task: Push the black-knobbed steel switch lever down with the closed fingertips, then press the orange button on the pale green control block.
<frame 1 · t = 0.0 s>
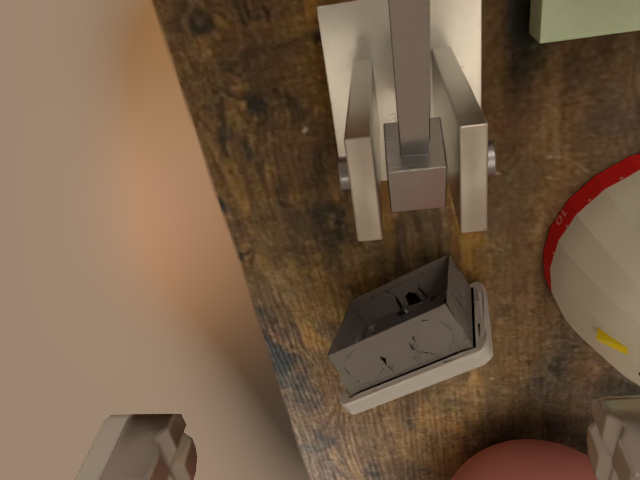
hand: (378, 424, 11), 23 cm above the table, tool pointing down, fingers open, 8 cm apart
electrical switch: (403, 287, 38), on the table
switch bracket: (403, 88, 30), on the table
balloon: (489, 456, 47), on the table
switch lever: (411, 70, 17), point 12 cm above the table, hinge at 28.0°
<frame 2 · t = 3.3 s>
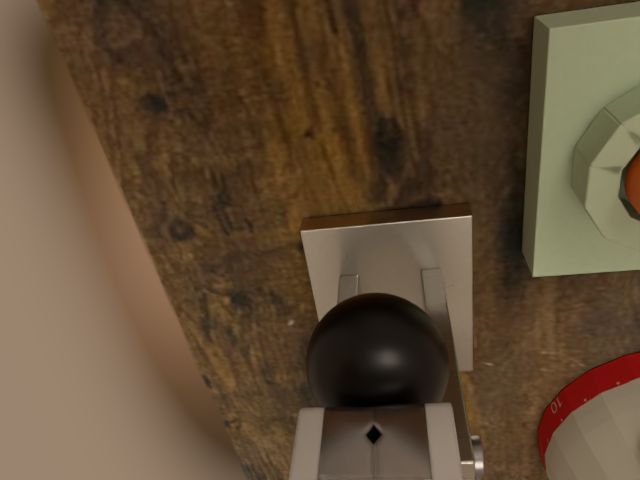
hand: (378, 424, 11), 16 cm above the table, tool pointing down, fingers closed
switch bracket: (392, 291, 29), on the table
switch lever: (391, 421, 16), point 12 cm above the table, hinge at 23.8°
control block: (636, 136, 23), on the table
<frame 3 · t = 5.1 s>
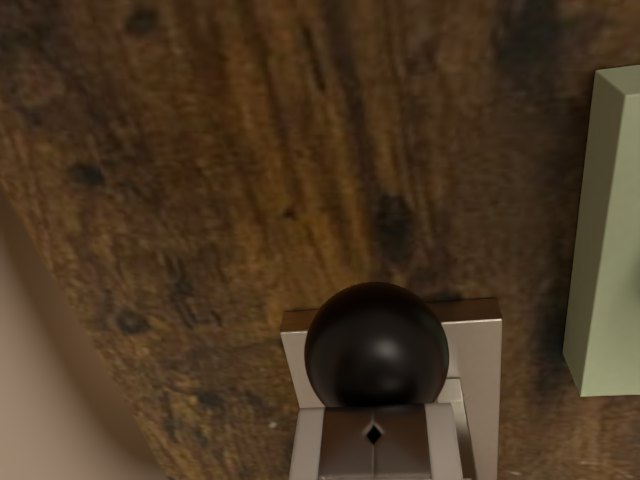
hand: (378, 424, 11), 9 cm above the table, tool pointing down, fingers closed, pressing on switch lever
switch bracket: (397, 394, 23), on the table
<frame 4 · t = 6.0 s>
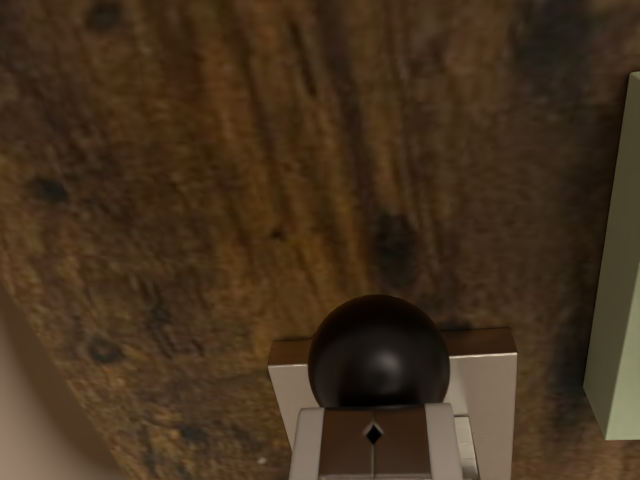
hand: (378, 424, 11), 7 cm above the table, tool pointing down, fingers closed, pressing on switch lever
switch bracket: (398, 430, 21), on the table
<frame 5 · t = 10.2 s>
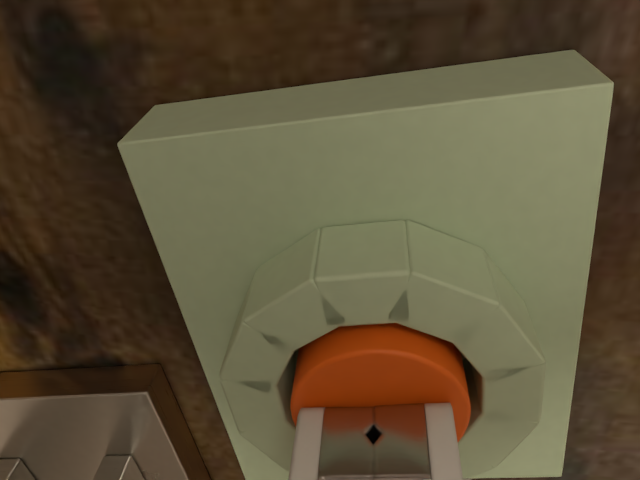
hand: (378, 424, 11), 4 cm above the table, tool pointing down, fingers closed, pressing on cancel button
switch bracket: (101, 464, 20), on the table
cancel button: (378, 383, 12), point 4 cm above the table, slide at -0.9 cm, touching gripper
control block: (377, 282, 15), on the table
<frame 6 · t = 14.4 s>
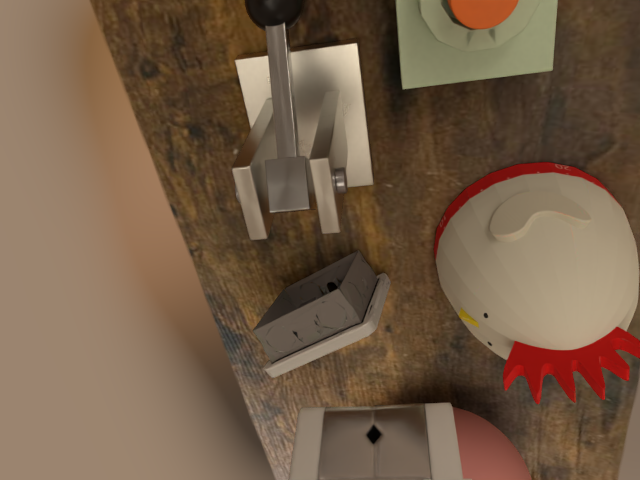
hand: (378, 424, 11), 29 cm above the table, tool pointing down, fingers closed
electrical switch: (325, 278, 46), on the table
switch bracket: (309, 119, 38), on the table
balloon: (411, 423, 55), on the table
switch lever: (282, 91, 30), point 7 cm above the table, hinge at -30.6°
kitchen timer: (524, 242, 42), on the table
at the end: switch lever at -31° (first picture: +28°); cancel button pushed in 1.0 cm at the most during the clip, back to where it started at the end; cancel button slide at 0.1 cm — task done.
